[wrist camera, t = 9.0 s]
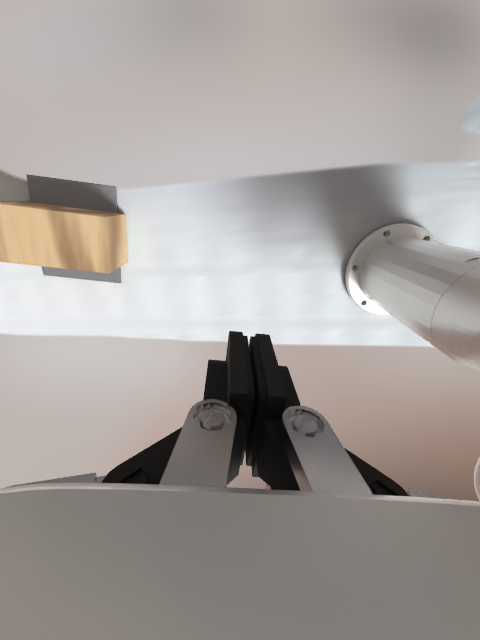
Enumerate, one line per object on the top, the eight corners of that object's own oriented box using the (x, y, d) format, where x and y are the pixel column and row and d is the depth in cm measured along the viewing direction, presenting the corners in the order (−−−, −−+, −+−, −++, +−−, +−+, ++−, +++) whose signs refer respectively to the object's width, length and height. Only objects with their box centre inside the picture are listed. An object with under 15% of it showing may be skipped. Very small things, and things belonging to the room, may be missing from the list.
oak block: (105, 217, 28) (-19, 201, 27) (109, 273, 30) (-5, 261, 29) (125, 214, 34) (23, 201, 33) (127, 262, 36) (32, 251, 35)
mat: (116, 186, 33) (115, 186, 32) (121, 282, 37) (120, 283, 37) (28, 174, 32) (26, 174, 31) (45, 274, 36) (43, 274, 36)
